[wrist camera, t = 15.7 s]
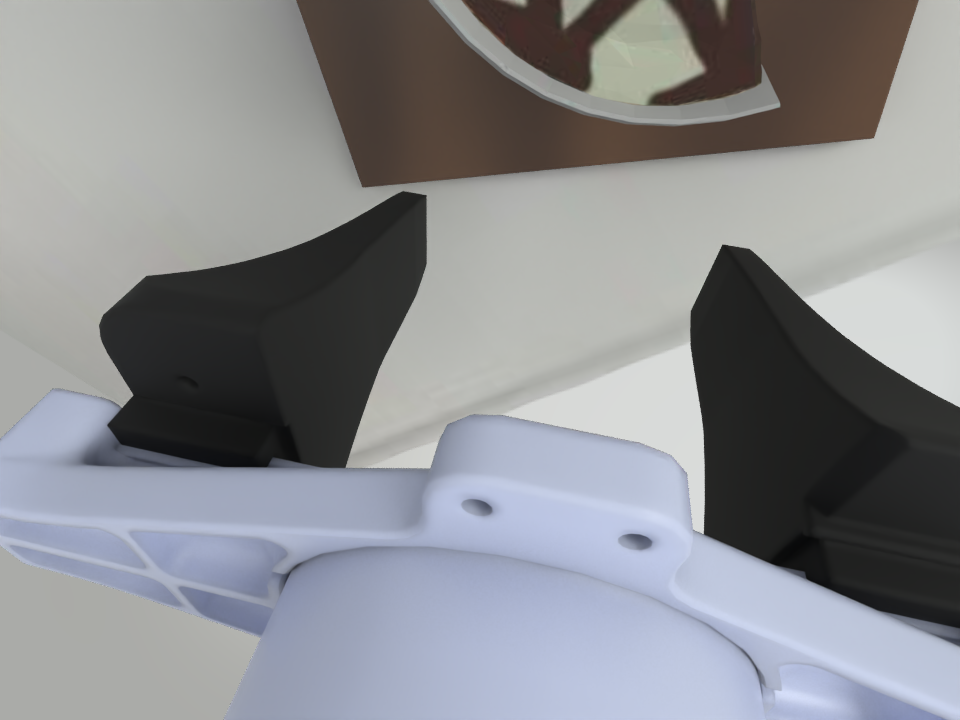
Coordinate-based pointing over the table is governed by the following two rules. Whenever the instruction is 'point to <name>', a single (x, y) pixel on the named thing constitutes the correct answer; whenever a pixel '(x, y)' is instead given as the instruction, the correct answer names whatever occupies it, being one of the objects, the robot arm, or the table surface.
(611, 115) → the food container
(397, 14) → the walnut board
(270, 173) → the table surface
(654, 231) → the table surface
